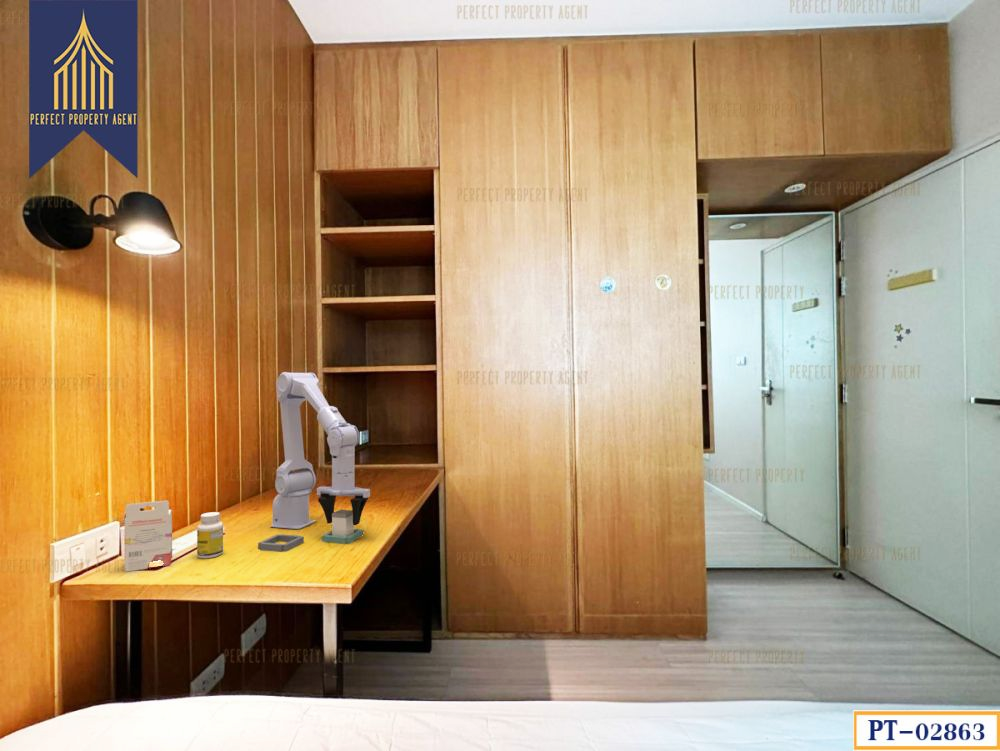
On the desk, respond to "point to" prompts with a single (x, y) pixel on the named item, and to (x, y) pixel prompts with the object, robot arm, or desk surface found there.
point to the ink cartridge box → (147, 535)
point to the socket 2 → (342, 537)
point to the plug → (342, 523)
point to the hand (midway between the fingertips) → (343, 523)
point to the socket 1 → (272, 546)
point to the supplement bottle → (210, 536)
